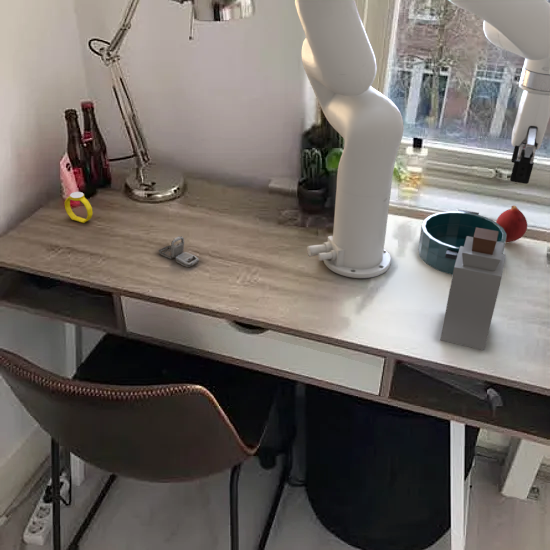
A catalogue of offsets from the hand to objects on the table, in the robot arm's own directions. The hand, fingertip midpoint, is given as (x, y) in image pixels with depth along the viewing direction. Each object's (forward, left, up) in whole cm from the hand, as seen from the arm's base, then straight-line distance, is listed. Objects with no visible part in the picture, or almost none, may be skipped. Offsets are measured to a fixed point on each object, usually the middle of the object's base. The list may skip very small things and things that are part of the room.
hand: (519, 172), depth 121 cm
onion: (+1, 0, -15) cm, 15 cm away
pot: (-11, -2, -15) cm, 19 cm away
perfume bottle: (-23, -25, -15) cm, 37 cm away
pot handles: (-11, -2, -11) cm, 16 cm away
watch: (-80, +31, -15) cm, 87 cm away
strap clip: (-63, +11, -15) cm, 66 cm away
